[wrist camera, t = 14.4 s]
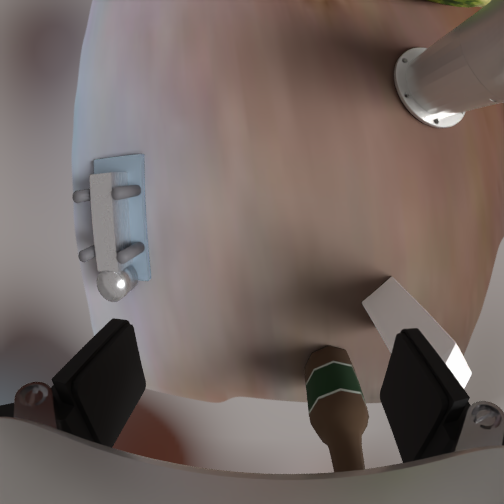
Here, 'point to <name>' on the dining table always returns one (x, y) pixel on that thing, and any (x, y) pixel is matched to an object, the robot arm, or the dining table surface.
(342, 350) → the beer bottle
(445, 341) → the milk
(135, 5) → the dining table surface
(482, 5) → the lettuce
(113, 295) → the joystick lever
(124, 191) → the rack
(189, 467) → the robot arm
